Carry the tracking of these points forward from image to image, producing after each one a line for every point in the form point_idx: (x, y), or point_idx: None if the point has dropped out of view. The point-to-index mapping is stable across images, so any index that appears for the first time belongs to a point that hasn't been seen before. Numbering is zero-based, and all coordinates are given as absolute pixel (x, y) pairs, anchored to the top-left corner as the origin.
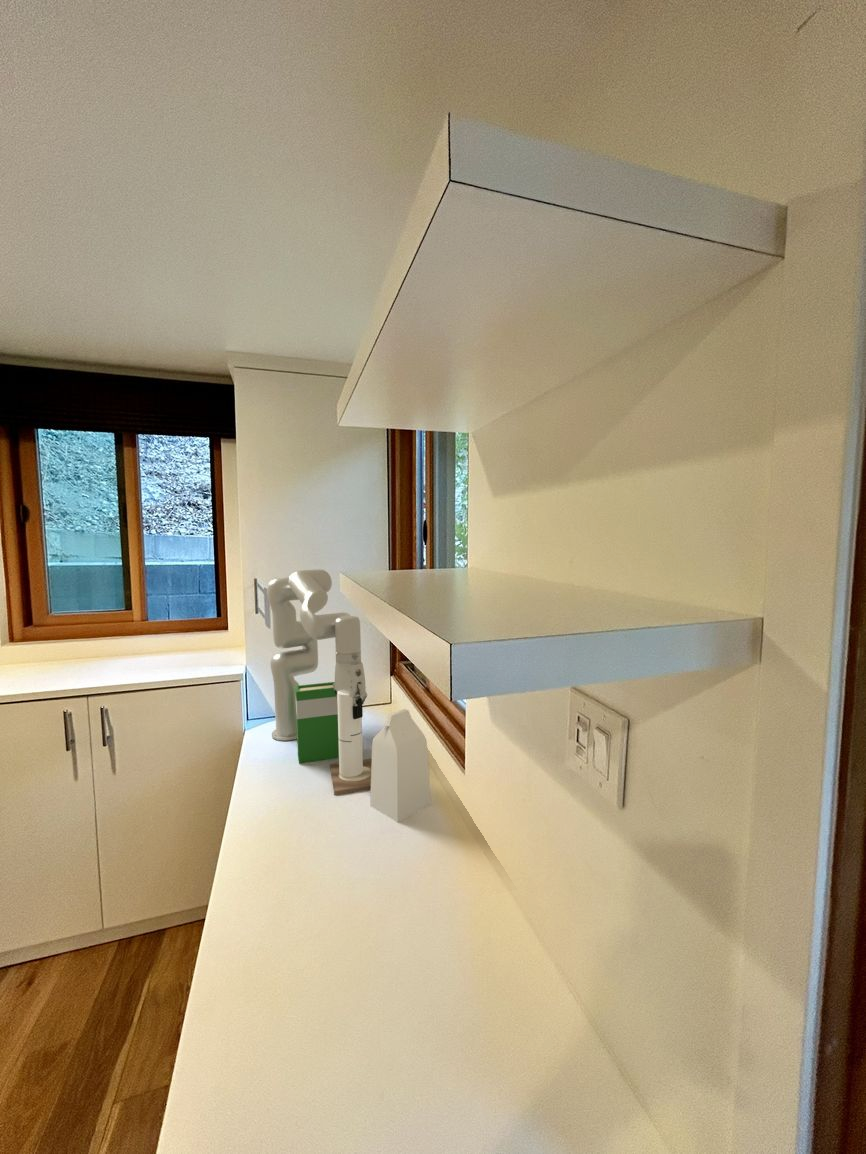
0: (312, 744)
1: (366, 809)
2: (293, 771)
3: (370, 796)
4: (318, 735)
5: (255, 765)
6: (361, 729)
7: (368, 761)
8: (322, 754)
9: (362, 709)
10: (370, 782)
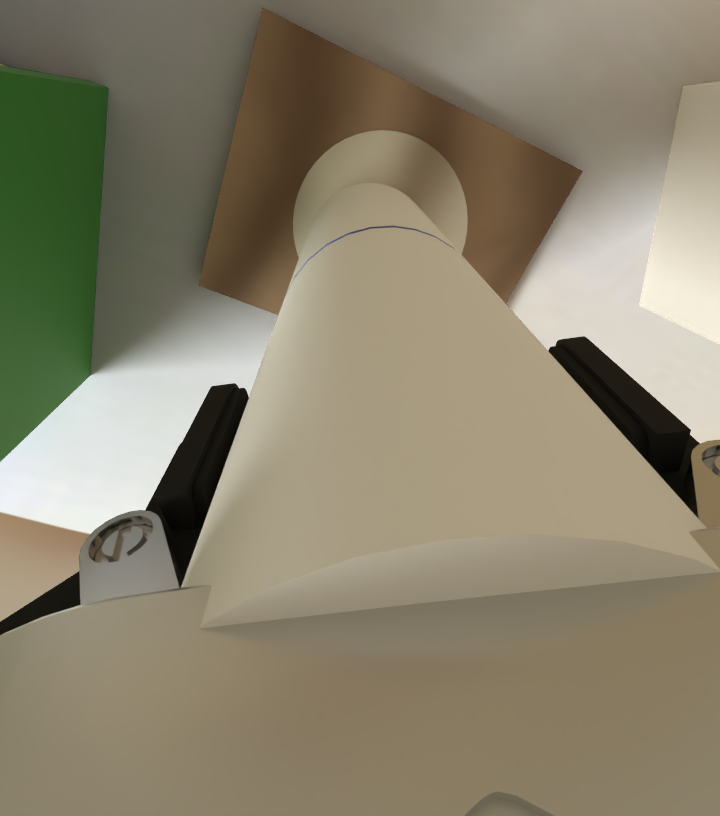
0: (42, 354)
1: (645, 329)
2: (158, 416)
3: (664, 317)
4: (10, 342)
5: (32, 499)
6: (474, 269)
7: (289, 74)
8: (80, 281)
9: (630, 377)
10: (521, 218)
